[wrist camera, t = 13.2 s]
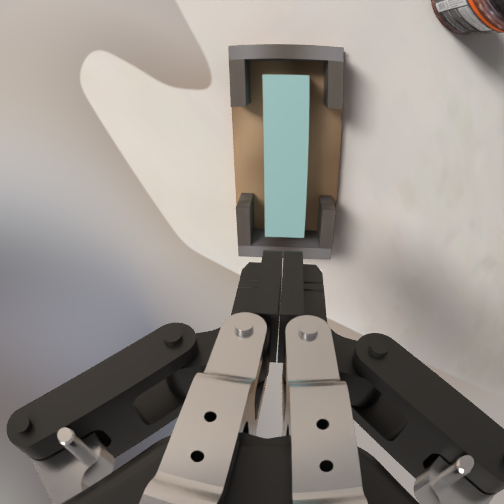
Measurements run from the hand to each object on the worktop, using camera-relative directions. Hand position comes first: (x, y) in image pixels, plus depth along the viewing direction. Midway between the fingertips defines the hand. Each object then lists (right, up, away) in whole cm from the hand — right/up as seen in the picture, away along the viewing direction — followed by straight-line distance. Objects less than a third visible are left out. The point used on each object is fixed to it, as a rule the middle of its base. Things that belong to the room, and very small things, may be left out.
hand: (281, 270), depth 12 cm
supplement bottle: (+19, +25, +6) cm, 31 cm away
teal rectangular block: (+2, +10, +16) cm, 19 cm away
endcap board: (+2, +11, +17) cm, 20 cm away
